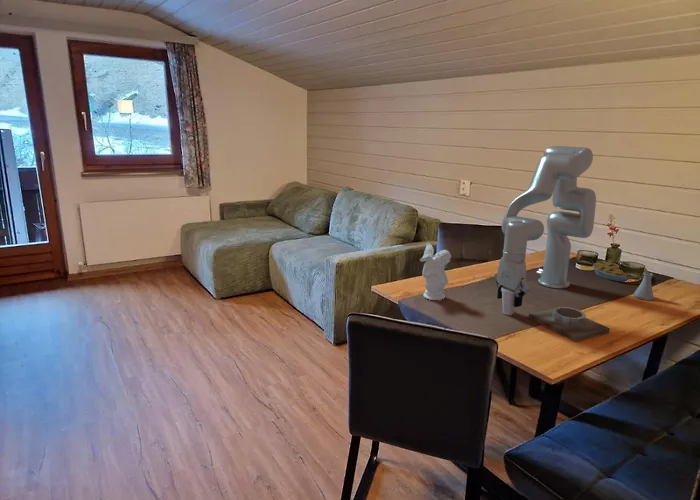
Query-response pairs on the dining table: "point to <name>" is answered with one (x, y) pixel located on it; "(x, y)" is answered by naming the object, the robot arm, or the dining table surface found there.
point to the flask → (645, 288)
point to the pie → (613, 271)
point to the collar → (560, 317)
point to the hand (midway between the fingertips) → (509, 301)
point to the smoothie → (508, 300)
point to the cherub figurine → (435, 272)
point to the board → (572, 333)
